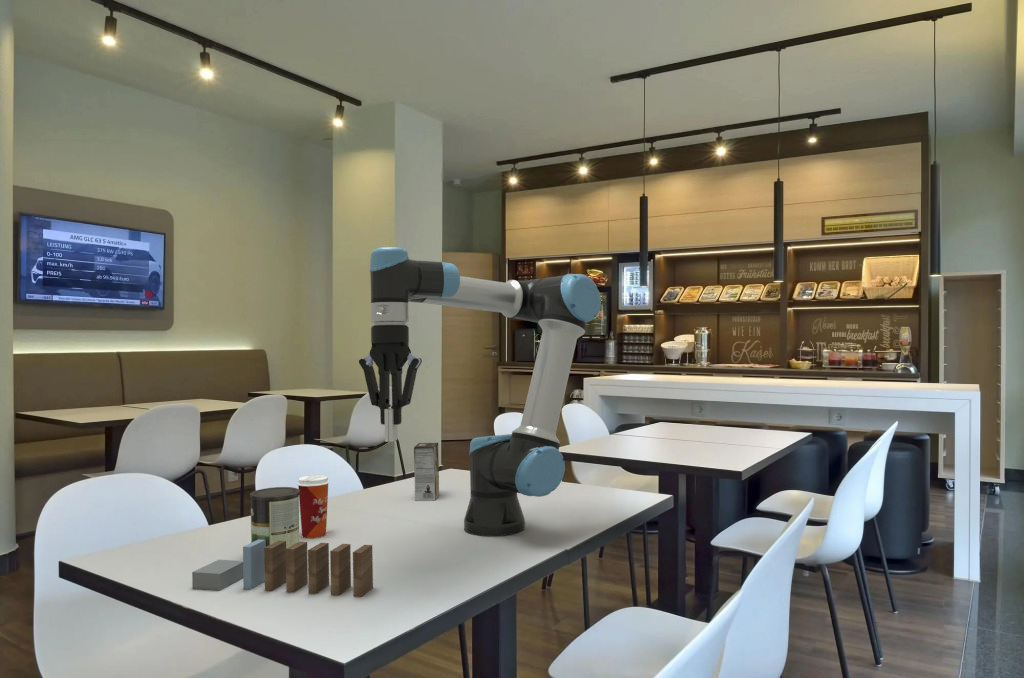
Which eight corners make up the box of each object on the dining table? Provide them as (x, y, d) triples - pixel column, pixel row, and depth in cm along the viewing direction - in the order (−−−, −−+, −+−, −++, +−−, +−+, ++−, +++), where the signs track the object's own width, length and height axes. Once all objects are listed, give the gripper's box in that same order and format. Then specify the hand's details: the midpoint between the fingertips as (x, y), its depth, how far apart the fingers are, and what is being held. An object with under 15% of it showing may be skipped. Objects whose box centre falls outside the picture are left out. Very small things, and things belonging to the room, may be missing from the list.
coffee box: (418, 494, 215) (418, 442, 216) (439, 494, 215) (438, 442, 216) (414, 501, 206) (413, 446, 207) (435, 500, 206) (435, 446, 206)
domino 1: (265, 580, 136) (265, 539, 137) (251, 589, 132) (250, 547, 132) (258, 580, 137) (258, 539, 137) (243, 589, 132) (243, 546, 132)
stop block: (245, 576, 139) (245, 561, 139) (220, 590, 131) (220, 573, 131) (218, 574, 140) (218, 559, 141) (192, 588, 133) (192, 572, 133)
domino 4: (329, 584, 134) (328, 542, 134) (316, 593, 129) (315, 550, 129) (321, 584, 134) (321, 542, 134) (308, 593, 129) (307, 550, 129)
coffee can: (244, 564, 148) (243, 497, 148) (258, 550, 158) (257, 487, 158) (294, 561, 149) (293, 495, 149) (304, 548, 159) (303, 486, 159)
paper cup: (321, 540, 165) (320, 480, 165) (291, 538, 167) (290, 480, 167) (336, 531, 173) (335, 474, 173) (307, 530, 174) (306, 474, 175)
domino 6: (373, 587, 132) (372, 545, 132) (361, 596, 127) (360, 552, 127) (365, 587, 132) (364, 544, 132) (353, 596, 127) (352, 552, 127)
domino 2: (286, 582, 136) (286, 540, 136) (272, 591, 131) (271, 548, 131) (279, 581, 136) (278, 540, 136) (264, 590, 131) (264, 547, 131)
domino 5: (351, 586, 133) (350, 544, 133) (338, 595, 128) (338, 551, 128) (343, 585, 133) (342, 543, 133) (330, 594, 128) (330, 551, 128)
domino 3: (307, 583, 135) (307, 541, 135) (294, 592, 130) (293, 549, 130) (300, 583, 135) (299, 541, 135) (286, 591, 130) (285, 548, 130)
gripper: (351, 324, 139) (352, 442, 139) (414, 323, 136) (415, 443, 136) (367, 325, 147) (368, 437, 146) (426, 324, 144) (428, 438, 143)
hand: (391, 440), depth 141 cm, fingers closed
